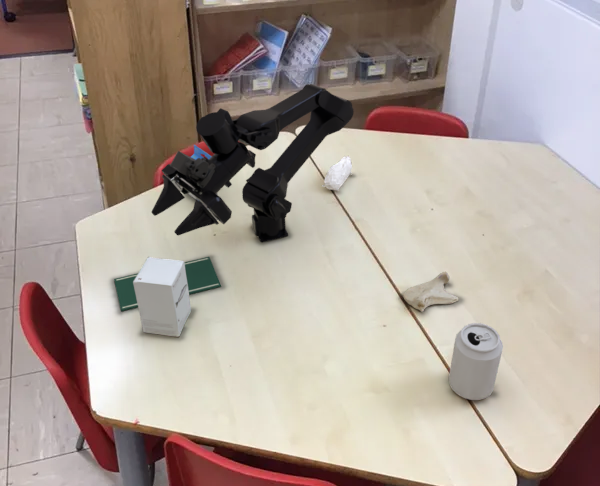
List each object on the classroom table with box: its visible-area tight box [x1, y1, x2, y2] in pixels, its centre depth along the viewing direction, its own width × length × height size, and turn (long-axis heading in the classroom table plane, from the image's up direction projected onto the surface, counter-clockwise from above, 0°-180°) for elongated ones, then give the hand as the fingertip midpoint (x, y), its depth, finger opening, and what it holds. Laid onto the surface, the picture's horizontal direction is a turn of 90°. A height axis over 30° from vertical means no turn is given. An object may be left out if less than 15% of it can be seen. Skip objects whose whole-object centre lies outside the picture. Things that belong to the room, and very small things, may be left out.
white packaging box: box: [133, 256, 192, 338], centre depth 124 cm, size 7×7×13 cm
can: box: [448, 322, 504, 401], centre depth 110 cm, size 8×8×12 cm
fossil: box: [402, 271, 460, 312], centre depth 131 cm, size 7×11×4 cm, turn 117°
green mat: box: [113, 256, 222, 313], centre depth 136 cm, size 20×10×1 cm, turn 110°
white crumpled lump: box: [321, 155, 353, 192], centre depth 164 cm, size 5×7×10 cm
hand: (164, 223), depth 128 cm, fingers open, 9 cm apart
